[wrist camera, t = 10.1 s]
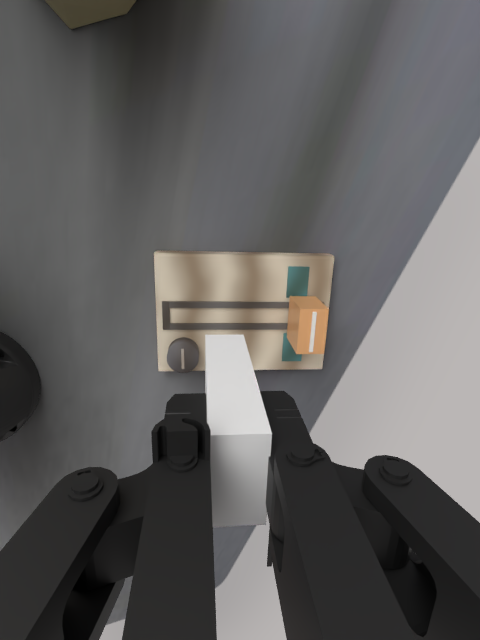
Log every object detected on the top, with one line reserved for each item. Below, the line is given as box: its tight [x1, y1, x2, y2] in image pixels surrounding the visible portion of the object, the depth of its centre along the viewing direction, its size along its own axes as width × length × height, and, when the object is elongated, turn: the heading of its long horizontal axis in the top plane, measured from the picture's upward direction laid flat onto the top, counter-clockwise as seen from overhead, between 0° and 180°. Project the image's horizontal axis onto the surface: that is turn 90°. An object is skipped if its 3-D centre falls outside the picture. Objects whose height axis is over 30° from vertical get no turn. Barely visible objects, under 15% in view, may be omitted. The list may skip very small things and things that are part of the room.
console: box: [154, 251, 334, 373], centre depth 45 cm, size 20×14×4 cm
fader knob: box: [287, 296, 329, 354], centre depth 42 cm, size 3×5×5 cm, turn 178°
